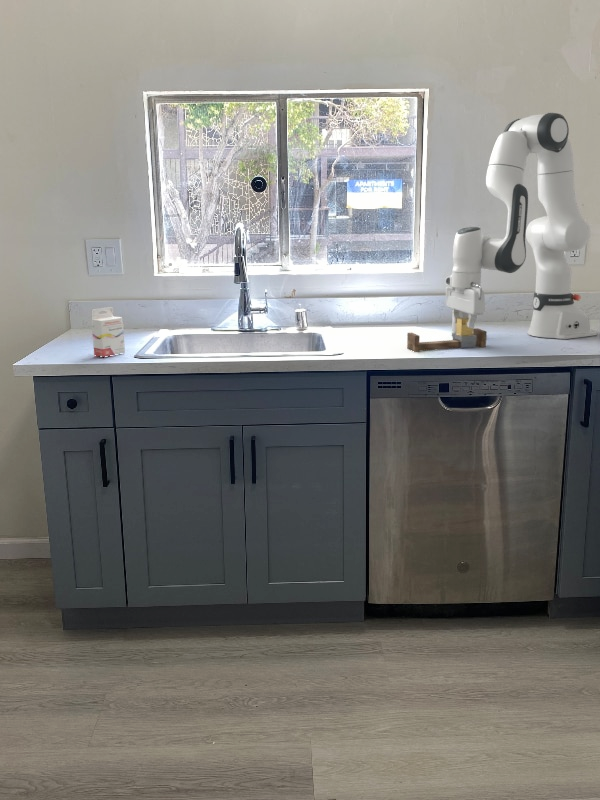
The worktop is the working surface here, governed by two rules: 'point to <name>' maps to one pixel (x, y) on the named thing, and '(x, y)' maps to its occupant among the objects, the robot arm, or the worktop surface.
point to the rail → (442, 342)
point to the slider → (464, 334)
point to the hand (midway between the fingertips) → (463, 325)
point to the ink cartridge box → (107, 332)
